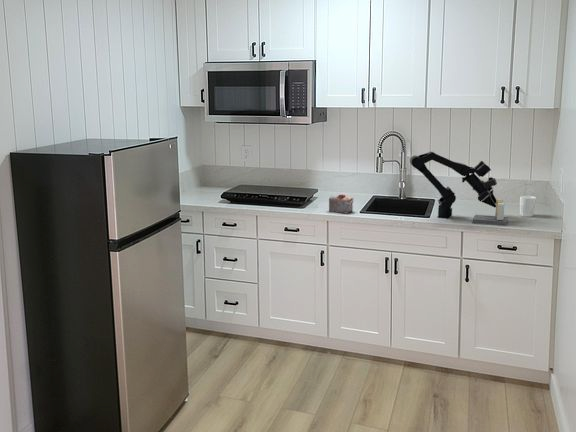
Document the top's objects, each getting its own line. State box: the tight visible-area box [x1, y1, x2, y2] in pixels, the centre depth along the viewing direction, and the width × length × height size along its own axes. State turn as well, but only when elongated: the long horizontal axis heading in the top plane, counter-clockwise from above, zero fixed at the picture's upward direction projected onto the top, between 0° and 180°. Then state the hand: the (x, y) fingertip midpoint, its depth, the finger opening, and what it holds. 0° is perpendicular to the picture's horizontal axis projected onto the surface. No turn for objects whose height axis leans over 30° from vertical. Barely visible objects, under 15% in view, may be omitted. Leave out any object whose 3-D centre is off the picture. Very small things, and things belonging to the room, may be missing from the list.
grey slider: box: [497, 202, 505, 220], centre depth 295 cm, size 3×4×8 cm
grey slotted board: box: [471, 214, 509, 227], centre depth 300 cm, size 16×12×2 cm
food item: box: [328, 194, 354, 213], centre depth 330 cm, size 14×8×10 cm, turn 65°
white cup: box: [519, 195, 537, 218], centre depth 312 cm, size 8×8×10 cm
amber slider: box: [494, 199, 504, 217], centre depth 301 cm, size 3×4×8 cm
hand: (496, 205), depth 306 cm, fingers open, 8 cm apart
